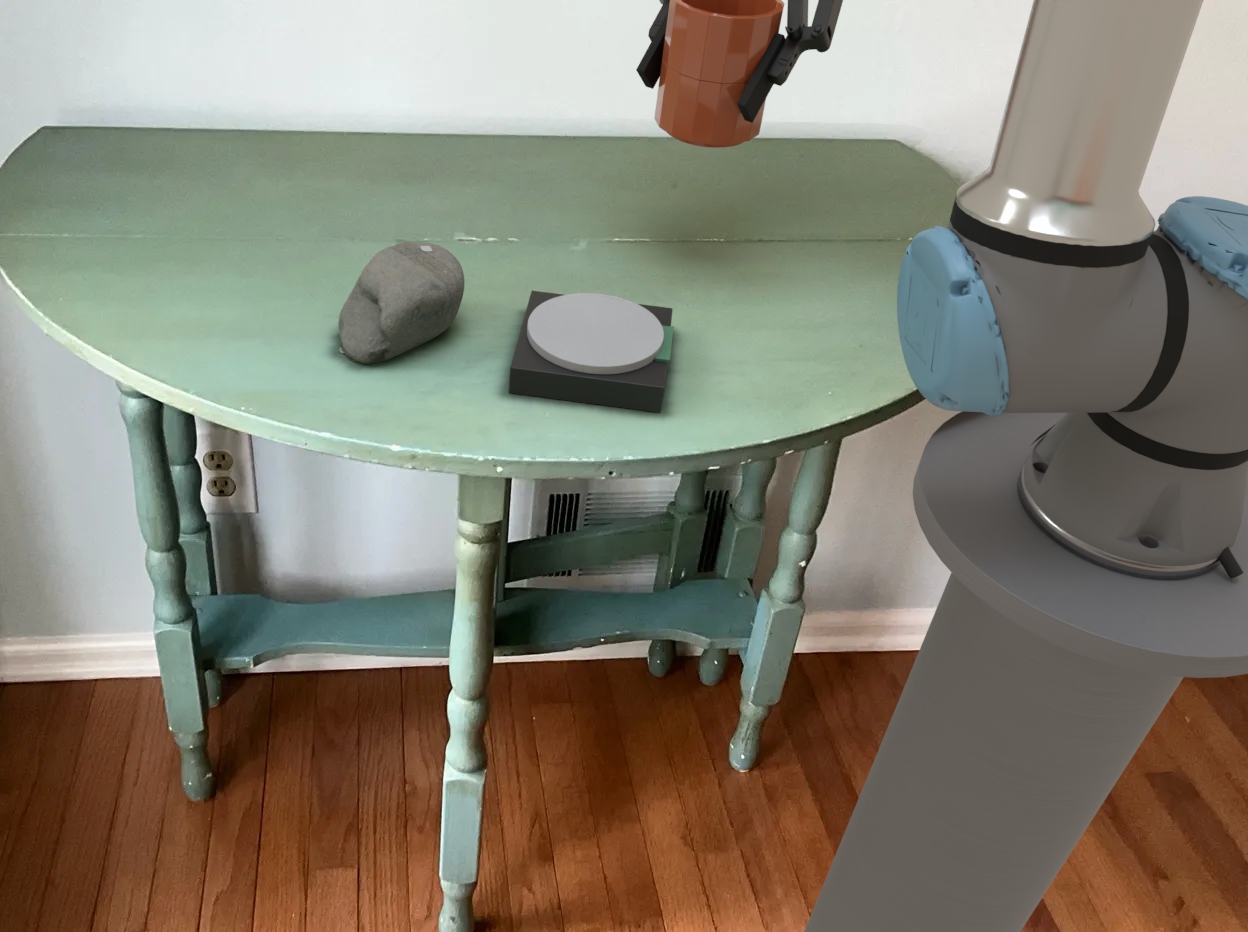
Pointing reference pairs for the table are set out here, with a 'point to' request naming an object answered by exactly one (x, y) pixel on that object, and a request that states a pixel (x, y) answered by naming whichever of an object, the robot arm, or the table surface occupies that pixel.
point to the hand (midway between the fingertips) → (693, 96)
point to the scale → (593, 350)
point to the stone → (400, 301)
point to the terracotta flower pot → (713, 68)
